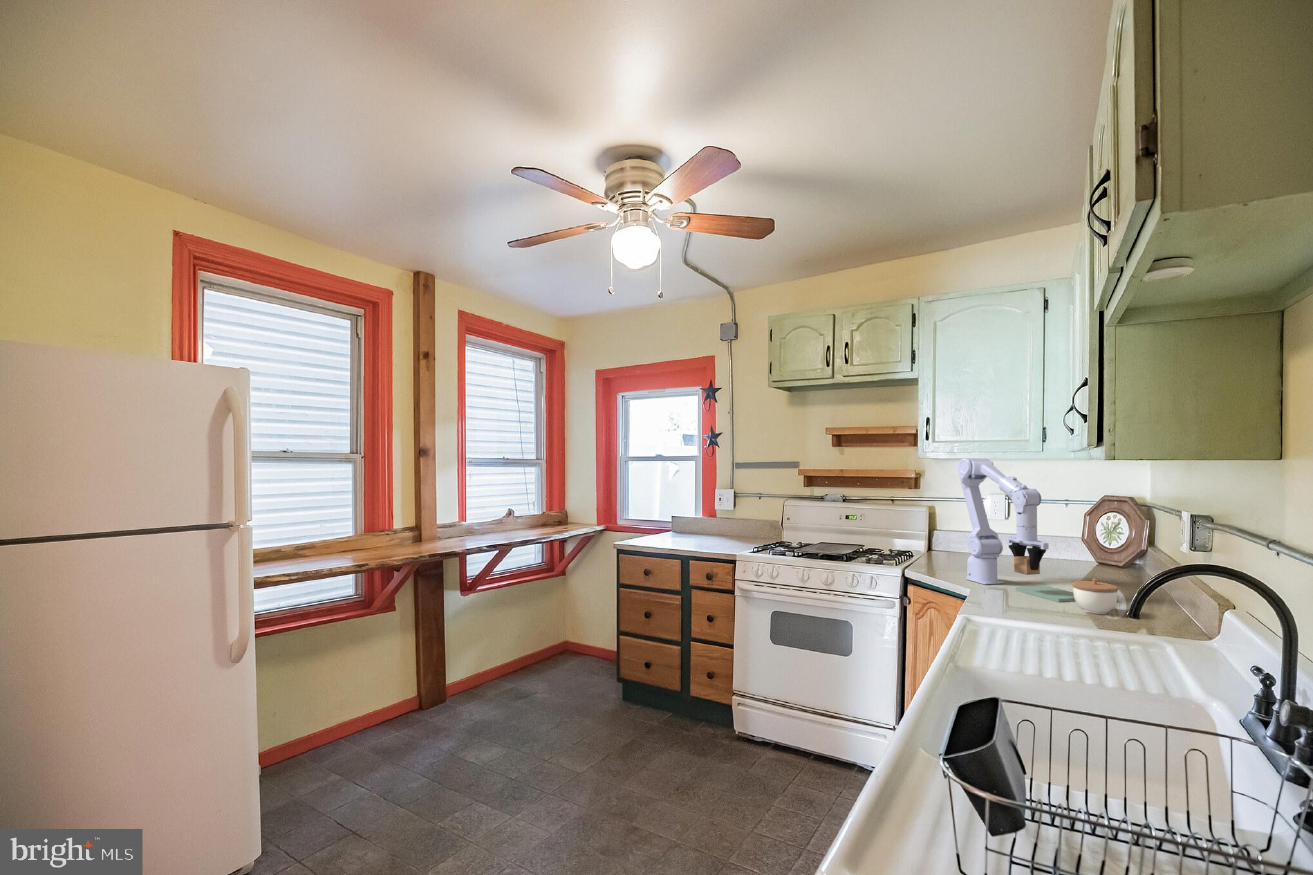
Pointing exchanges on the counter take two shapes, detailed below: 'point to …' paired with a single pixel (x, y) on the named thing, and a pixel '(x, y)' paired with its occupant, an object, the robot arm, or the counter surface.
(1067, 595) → the sage board
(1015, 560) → the walnut block
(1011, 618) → the counter surface
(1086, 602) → the lidded jar
